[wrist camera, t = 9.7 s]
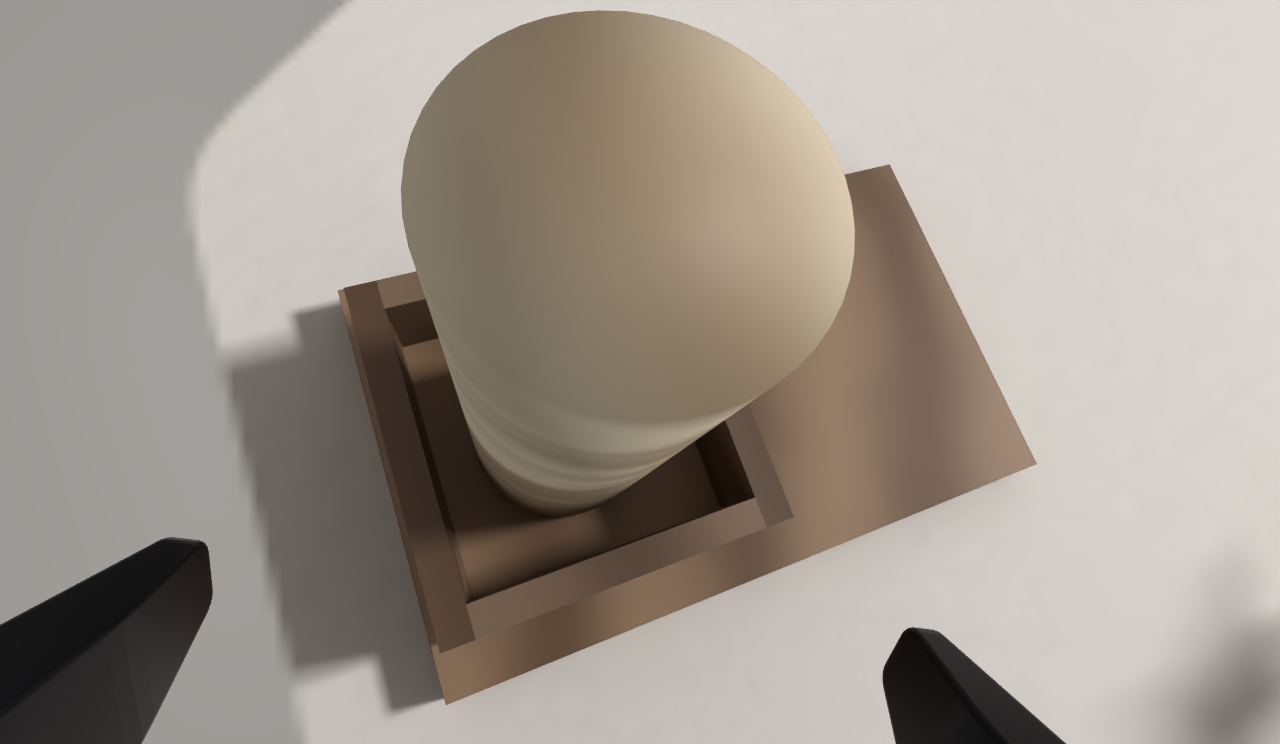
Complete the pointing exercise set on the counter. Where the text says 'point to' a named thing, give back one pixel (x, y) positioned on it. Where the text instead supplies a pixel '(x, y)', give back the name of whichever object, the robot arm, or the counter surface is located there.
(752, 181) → the post
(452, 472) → the jig board
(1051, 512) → the counter surface
